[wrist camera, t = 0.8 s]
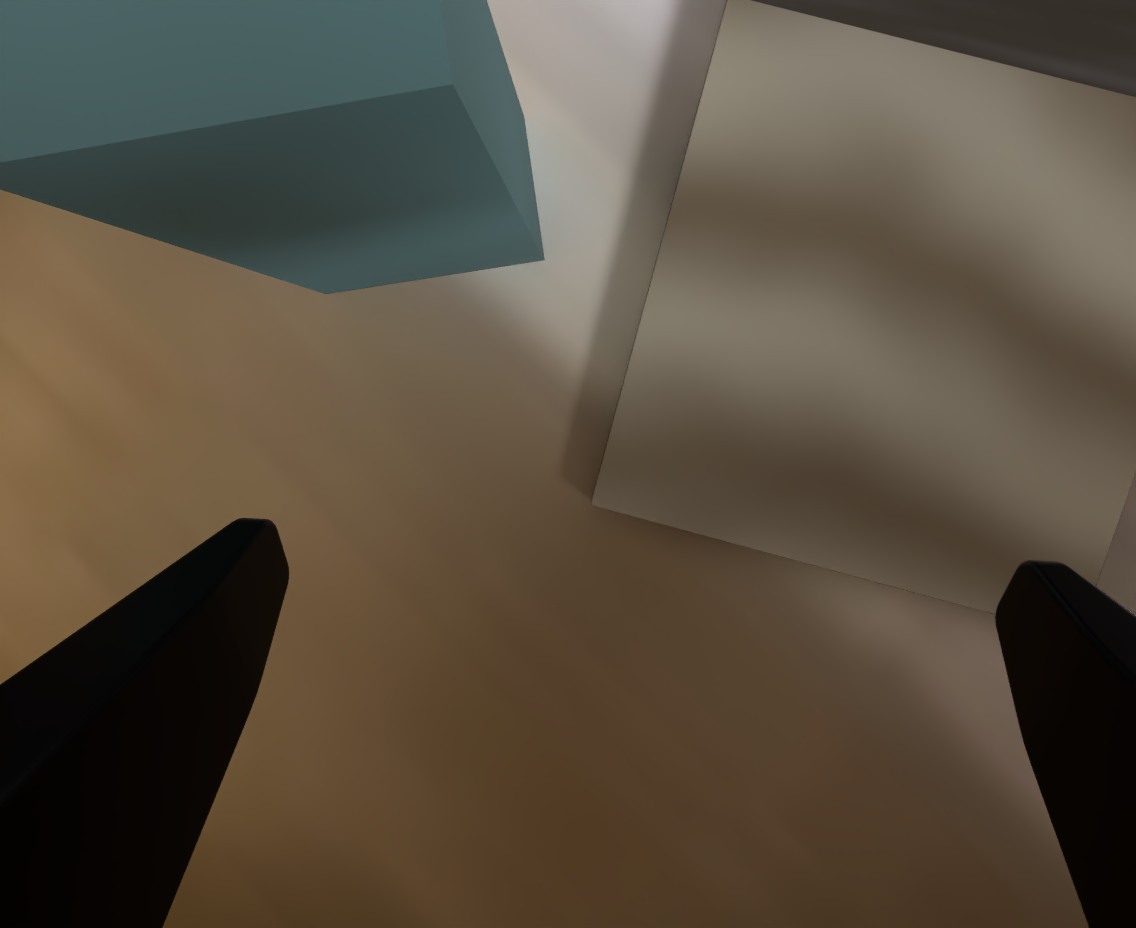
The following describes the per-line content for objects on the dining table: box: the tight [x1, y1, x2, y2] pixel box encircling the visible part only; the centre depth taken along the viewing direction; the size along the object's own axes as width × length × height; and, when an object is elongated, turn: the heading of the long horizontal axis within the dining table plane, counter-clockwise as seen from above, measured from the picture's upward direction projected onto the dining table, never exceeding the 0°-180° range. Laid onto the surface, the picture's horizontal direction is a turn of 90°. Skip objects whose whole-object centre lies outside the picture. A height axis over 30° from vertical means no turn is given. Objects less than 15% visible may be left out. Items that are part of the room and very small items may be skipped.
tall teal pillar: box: [0, 0, 544, 294], centre depth 16 cm, size 4×6×13 cm, turn 98°
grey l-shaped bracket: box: [591, 0, 1136, 614], centre depth 16 cm, size 16×14×11 cm
